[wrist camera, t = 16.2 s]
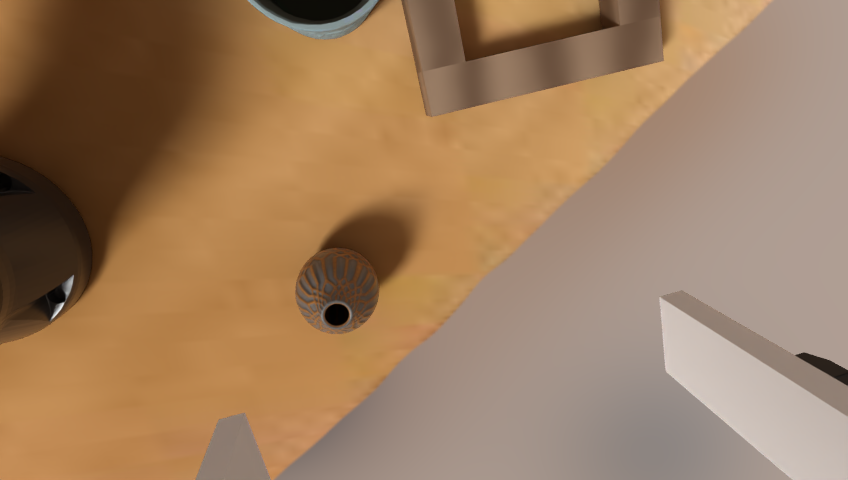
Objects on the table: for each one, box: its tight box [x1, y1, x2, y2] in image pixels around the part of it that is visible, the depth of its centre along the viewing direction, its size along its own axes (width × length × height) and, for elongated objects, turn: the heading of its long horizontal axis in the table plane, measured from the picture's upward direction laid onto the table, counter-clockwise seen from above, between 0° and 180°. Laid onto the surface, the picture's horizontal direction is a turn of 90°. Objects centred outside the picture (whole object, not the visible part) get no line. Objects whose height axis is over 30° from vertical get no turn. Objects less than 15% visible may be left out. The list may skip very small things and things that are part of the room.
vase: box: [295, 248, 379, 334], centre depth 42 cm, size 7×7×9 cm
